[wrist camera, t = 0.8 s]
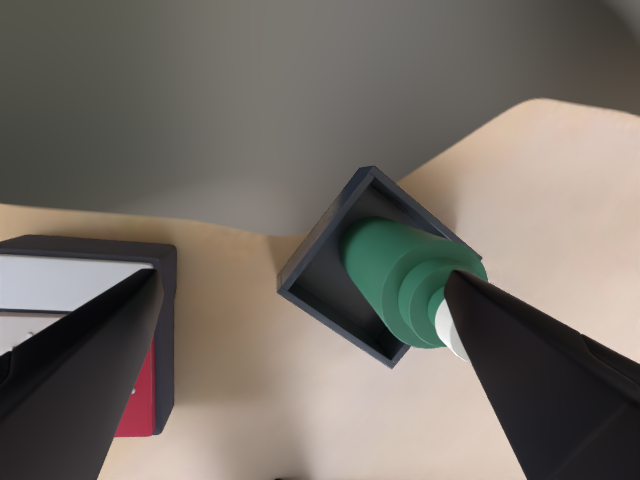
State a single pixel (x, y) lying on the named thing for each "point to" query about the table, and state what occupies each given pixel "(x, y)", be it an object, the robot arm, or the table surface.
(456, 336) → the bottle
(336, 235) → the tray
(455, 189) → the table surface
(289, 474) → the table surface
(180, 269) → the table surface
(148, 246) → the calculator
